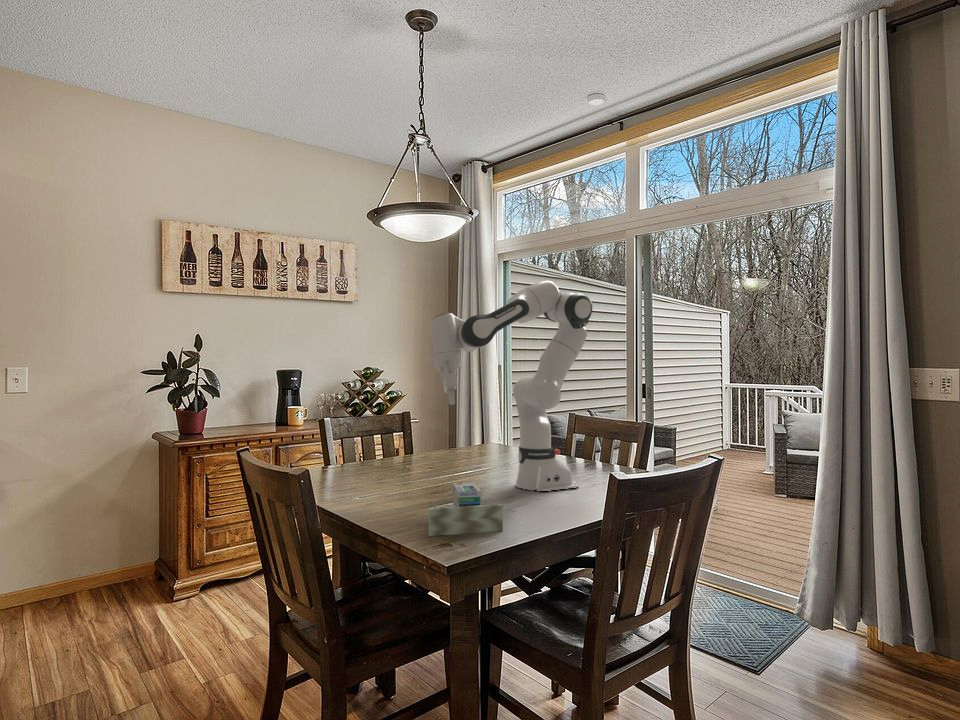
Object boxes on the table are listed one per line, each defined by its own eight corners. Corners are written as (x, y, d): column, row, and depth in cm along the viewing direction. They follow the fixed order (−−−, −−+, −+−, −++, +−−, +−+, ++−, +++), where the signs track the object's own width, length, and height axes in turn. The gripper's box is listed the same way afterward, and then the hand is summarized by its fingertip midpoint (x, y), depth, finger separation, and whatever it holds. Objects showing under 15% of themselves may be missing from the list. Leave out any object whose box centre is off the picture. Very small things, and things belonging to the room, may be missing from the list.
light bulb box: (482, 529, 158) (483, 490, 158) (458, 531, 157) (458, 491, 157) (474, 518, 169) (475, 481, 169) (452, 519, 167) (452, 482, 167)
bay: (489, 516, 171) (489, 492, 171) (502, 531, 157) (502, 505, 157) (422, 520, 166) (422, 495, 166) (429, 536, 152) (429, 509, 152)
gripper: (458, 357, 181) (464, 401, 179) (455, 365, 201) (460, 404, 199) (438, 359, 180) (443, 403, 178) (437, 367, 200) (441, 407, 198)
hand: (452, 404), depth 189 cm, fingers closed
